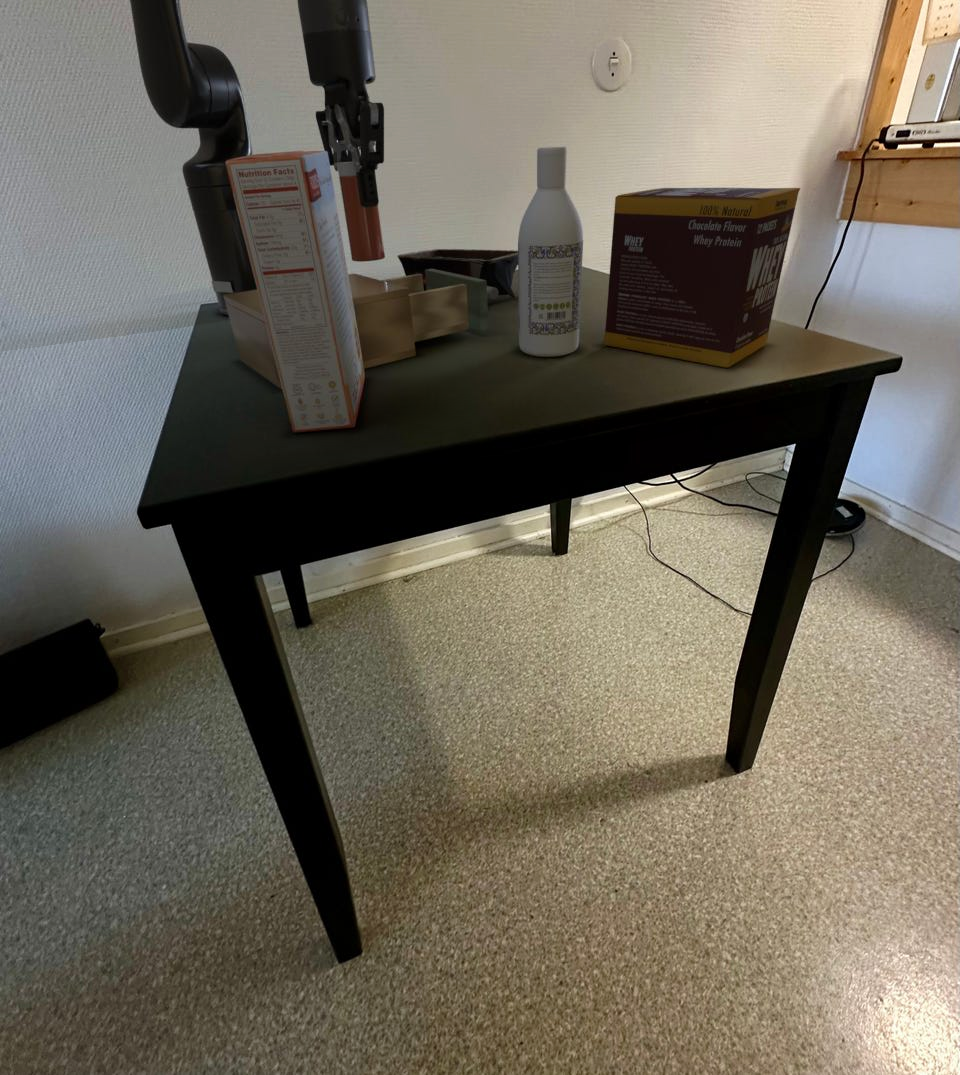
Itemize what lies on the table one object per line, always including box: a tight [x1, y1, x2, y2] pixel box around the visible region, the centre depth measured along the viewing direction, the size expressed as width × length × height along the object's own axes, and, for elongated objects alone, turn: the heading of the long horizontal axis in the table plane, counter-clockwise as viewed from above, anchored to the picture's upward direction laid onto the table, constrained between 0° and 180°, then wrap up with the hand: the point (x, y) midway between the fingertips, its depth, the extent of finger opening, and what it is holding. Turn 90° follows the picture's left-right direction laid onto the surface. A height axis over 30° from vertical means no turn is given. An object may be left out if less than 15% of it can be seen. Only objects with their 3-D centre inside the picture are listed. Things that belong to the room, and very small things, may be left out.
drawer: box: [380, 269, 499, 343], centre depth 76 cm, size 20×12×6 cm, turn 126°
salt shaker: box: [337, 161, 386, 263], centre depth 77 cm, size 4×4×11 cm
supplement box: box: [603, 187, 801, 369], centre depth 65 cm, size 10×15×16 cm
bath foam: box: [517, 146, 584, 358], centre depth 65 cm, size 7×7×20 cm
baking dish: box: [397, 248, 518, 299], centre depth 91 cm, size 14×18×10 cm
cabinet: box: [224, 273, 417, 390], centre depth 70 cm, size 17×14×8 cm
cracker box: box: [226, 150, 366, 433], centre depth 53 cm, size 14×6×21 cm, turn 5°
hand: (360, 204), depth 76 cm, fingers closed on salt shaker, 4 cm apart
